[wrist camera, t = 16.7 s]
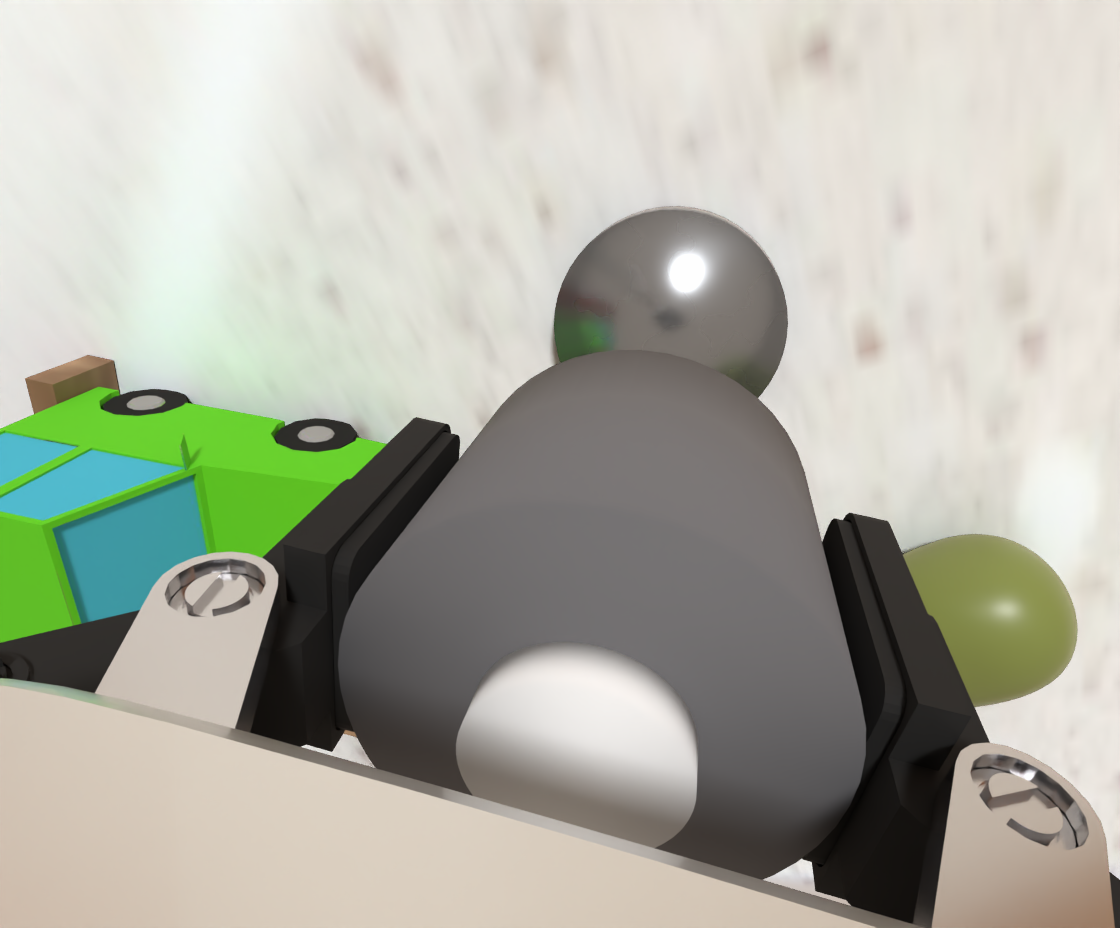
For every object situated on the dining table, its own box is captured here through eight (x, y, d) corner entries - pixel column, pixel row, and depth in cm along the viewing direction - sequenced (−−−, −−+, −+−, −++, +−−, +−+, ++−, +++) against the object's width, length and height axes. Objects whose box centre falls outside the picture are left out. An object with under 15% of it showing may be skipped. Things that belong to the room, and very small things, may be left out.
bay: (144, 625, 36) (98, 665, 33) (88, 354, 29) (25, 378, 26) (493, 719, 34) (474, 770, 31) (527, 451, 26) (507, 487, 24)
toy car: (413, 606, 32) (297, 792, 23) (159, 551, 33) (-39, 704, 25) (411, 406, 27) (264, 543, 18) (115, 354, 29) (-150, 456, 20)
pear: (1124, 724, 20) (801, 758, 26) (1075, 604, 24) (807, 655, 30) (1062, 587, 19) (732, 653, 24) (1021, 483, 23) (748, 560, 28)
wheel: (460, 601, 14) (318, 862, 9) (486, 317, 11) (299, 468, 6) (753, 676, 13) (773, 1003, 8) (861, 392, 10) (991, 634, 5)
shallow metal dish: (547, 403, 25) (541, 413, 24) (577, 187, 22) (571, 190, 21) (749, 445, 24) (751, 457, 24) (815, 228, 21) (820, 233, 20)
